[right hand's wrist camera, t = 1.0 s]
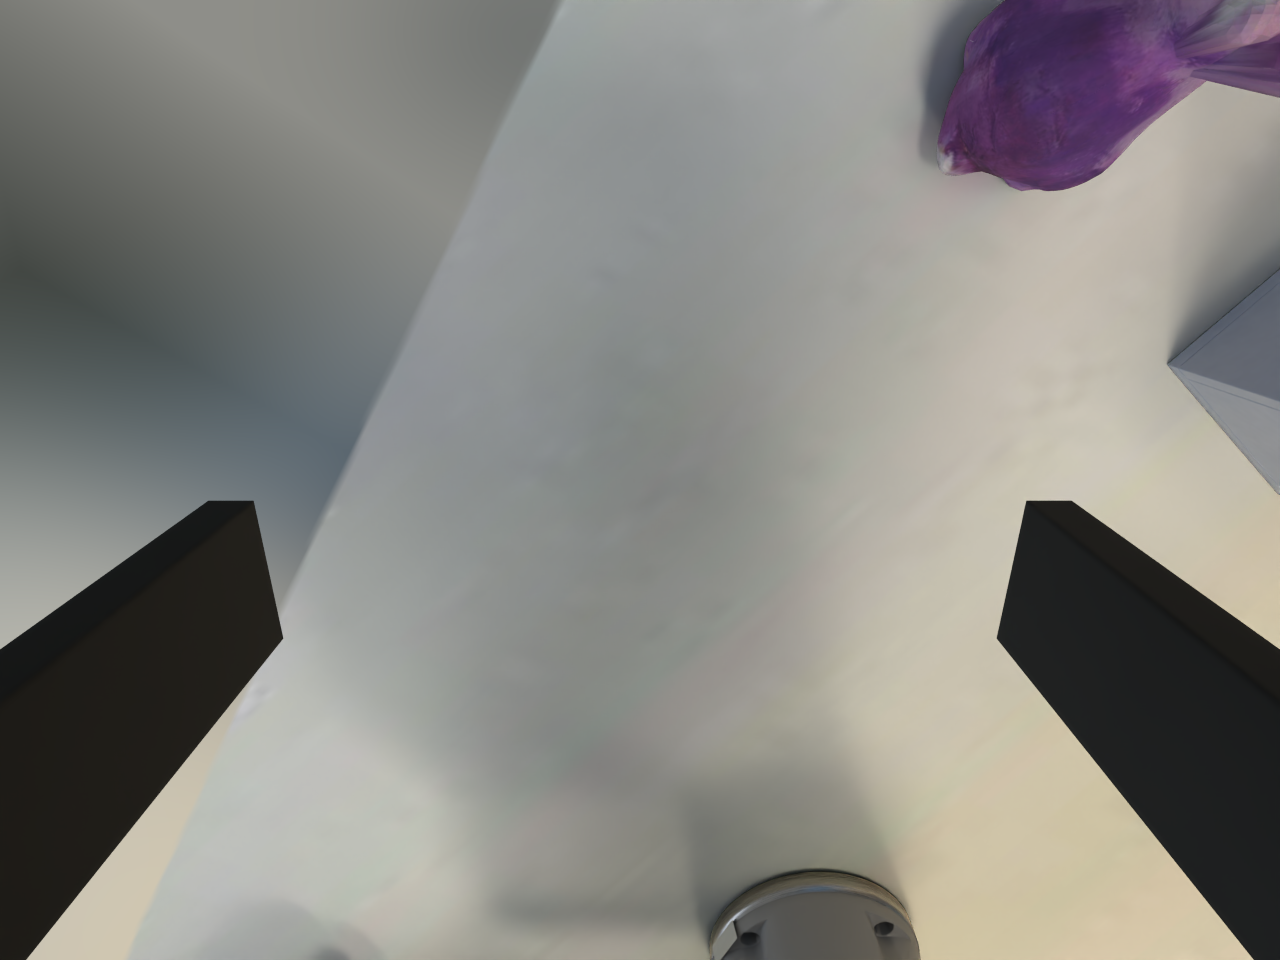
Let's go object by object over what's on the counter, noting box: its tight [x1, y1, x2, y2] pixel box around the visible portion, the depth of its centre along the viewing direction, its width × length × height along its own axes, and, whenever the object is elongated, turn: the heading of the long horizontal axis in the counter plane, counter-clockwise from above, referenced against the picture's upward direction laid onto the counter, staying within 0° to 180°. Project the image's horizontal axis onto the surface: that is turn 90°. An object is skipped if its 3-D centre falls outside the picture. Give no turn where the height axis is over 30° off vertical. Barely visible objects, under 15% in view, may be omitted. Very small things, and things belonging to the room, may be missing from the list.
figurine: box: [937, 0, 1280, 191], centre depth 26 cm, size 9×10×15 cm
